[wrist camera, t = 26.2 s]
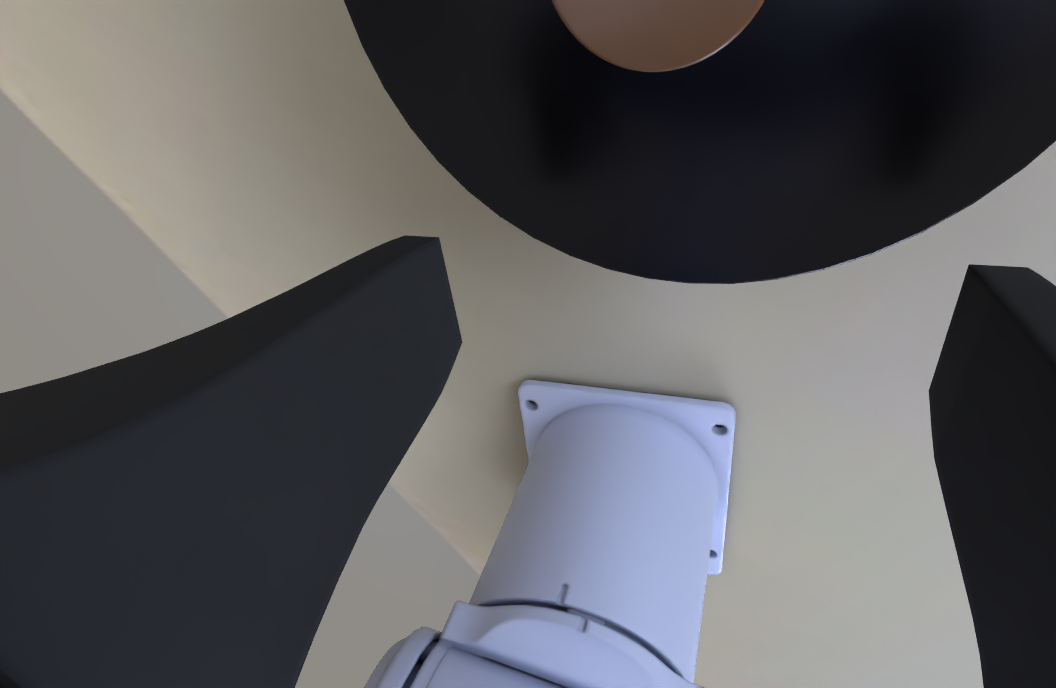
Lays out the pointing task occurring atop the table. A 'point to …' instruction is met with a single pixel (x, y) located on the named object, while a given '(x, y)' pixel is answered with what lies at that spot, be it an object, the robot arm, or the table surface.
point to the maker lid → (721, 120)
